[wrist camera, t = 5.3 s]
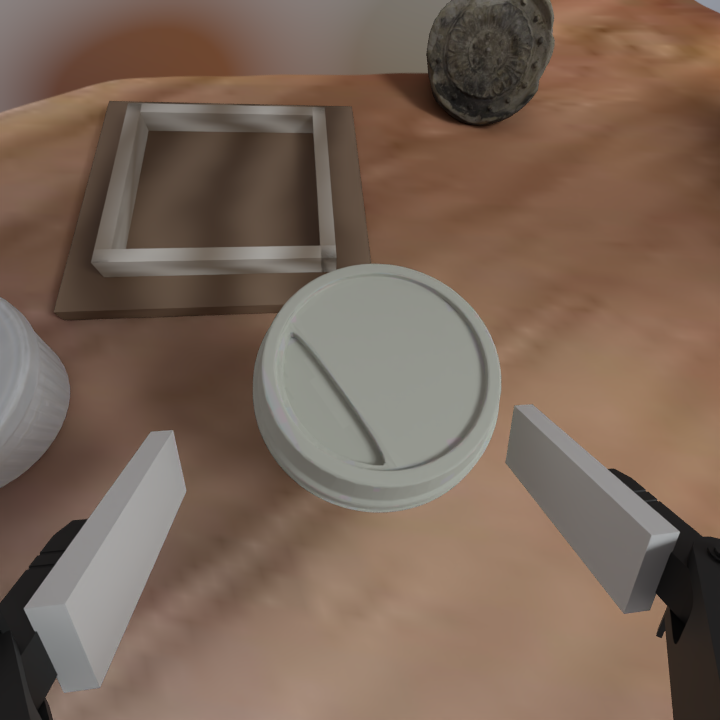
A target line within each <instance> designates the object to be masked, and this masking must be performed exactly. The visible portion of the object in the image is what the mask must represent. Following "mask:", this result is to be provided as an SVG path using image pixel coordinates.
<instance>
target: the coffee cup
mask: <svg viewBox="0 0 720 720" xmlns="http://www.w3.org/2000/svg"><path fill="white" fill-rule="evenodd" d="M500 394H501V370H500V363H499V358H498V354H497V351H496V347H495V345H494V342H493V340H492V338H491V335H490V333H489V331H488V330H487V328H486V326H485V324H484V323H483V321H482V320H481V318H480V317H479V315H478V314H477V313H476V312H475V310H474V309H473V308H472V307H471V306H470V305H469V304H468V303H467V302H466V301H465V300H464V299H463V298H462V297H461V296H460V295H459V294H457V293H456V292H455V291H454V290H452V289H451V288H450V287H448V286H447V285H445V284H443V283H442V282H440V281H438V280H437V279H435V278H433V277H431V276H428V275H426V274H424V273H421V272H419V271H416V270H413V269H409V268H405V267H401V266H395V265H388V264H361V265H354V266H348V267H344V268H341V269H337V270H334V271H331V272H329V273H327V274H324V275H322V276H320V277H318V278H316V279H314V280H313V281H311V282H309V283H308V284H306V285H305V286H304V287H302V288H301V289H299V290H298V291H297V292H296V293H295V294H294V295H293V296H292V297H291V298H290V299H289V300H288V301H287V302H286V303H285V304H284V306H283V307H282V308H281V310H280V311H279V312H278V314H277V315H276V317H275V319H274V321H273V322H272V325H271V326H270V328H269V329H268V331H267V333H266V335H265V337H264V339H263V341H262V343H261V346H260V348H259V351H258V354H257V358H256V362H255V367H254V375H253V404H254V411H255V416H256V420H257V424H258V427H259V430H260V433H261V435H262V438H263V440H264V442H265V444H266V446H267V448H268V449H269V451H270V453H271V454H272V456H273V457H274V459H275V460H276V461H277V463H278V464H279V465H280V466H281V468H282V469H283V470H284V471H285V472H286V473H287V474H288V475H289V476H290V477H291V478H292V479H293V480H294V481H295V482H297V483H298V484H299V485H300V486H302V487H303V488H304V489H306V490H307V491H309V492H310V493H312V494H314V495H315V496H317V497H319V498H321V499H323V500H325V501H327V502H330V503H332V504H335V505H338V506H341V507H344V508H348V509H352V510H357V511H364V512H394V511H401V510H406V509H410V508H414V507H417V506H420V505H423V504H425V503H428V502H430V501H432V500H434V499H436V498H438V497H440V496H441V495H443V494H445V493H446V492H448V491H449V490H451V489H452V488H453V487H454V486H456V485H457V484H458V483H459V482H460V481H461V480H462V479H463V478H464V477H465V476H466V475H467V474H468V473H469V472H470V471H471V469H472V468H473V467H474V465H475V464H476V463H477V462H478V460H479V459H480V457H481V456H482V454H483V453H484V451H485V449H486V447H487V445H488V444H489V441H490V439H491V437H492V434H493V431H494V428H495V425H496V421H497V416H498V410H499V400H500Z"/></svg>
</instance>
